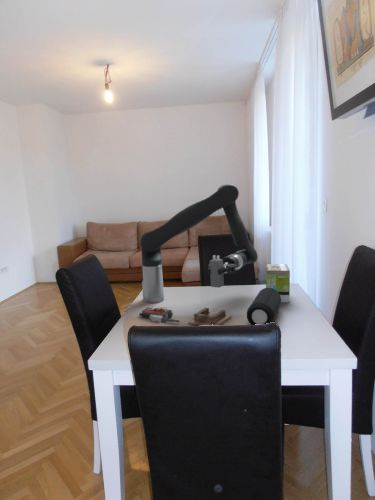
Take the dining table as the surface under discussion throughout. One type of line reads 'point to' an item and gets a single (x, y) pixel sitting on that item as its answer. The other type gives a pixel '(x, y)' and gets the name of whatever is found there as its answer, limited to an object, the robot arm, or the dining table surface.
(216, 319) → the tray
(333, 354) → the dining table surface
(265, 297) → the portable speaker
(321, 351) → the dining table surface
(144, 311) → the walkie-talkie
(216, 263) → the connector plug
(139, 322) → the dining table surface
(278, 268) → the tea box
